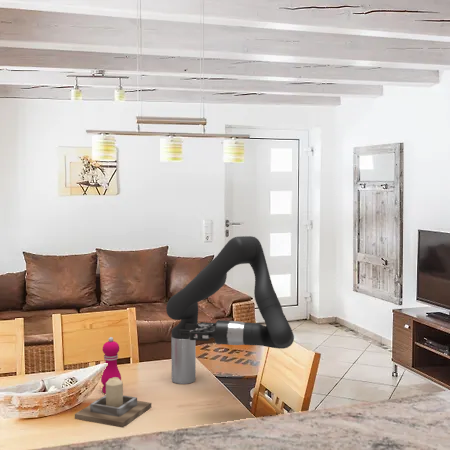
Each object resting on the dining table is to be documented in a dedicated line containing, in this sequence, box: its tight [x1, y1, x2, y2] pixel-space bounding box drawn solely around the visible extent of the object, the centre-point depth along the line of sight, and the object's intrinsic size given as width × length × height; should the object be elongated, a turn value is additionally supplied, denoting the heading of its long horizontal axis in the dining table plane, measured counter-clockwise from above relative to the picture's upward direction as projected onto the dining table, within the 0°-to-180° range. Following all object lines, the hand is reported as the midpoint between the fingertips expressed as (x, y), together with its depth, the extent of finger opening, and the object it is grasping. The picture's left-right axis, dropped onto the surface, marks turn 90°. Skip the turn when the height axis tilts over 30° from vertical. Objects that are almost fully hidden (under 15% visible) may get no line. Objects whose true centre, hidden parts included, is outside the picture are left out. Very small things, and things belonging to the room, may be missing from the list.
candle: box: [105, 377, 124, 408], centre depth 193 cm, size 6×6×10 cm
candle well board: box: [74, 394, 152, 428], centre depth 193 cm, size 18×18×4 cm
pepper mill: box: [100, 336, 122, 395], centre depth 213 cm, size 7×7×20 cm
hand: (182, 330), depth 191 cm, fingers open, 8 cm apart
